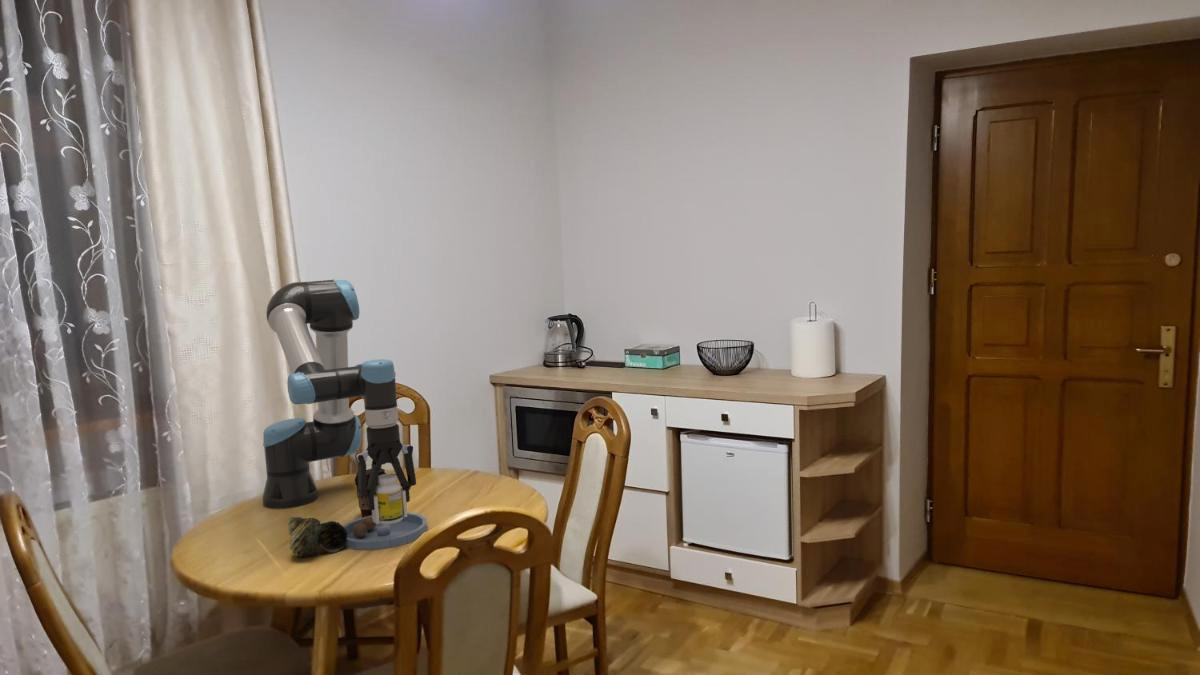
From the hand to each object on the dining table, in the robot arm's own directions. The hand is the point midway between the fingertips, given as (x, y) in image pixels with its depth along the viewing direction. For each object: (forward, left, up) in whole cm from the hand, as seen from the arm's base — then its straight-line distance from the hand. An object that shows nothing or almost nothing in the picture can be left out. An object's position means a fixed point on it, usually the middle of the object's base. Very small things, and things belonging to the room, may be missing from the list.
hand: (390, 518), depth 192 cm
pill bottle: (0, 0, -1) cm, 1 cm away
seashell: (-3, -17, -6) cm, 18 cm away
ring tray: (-6, 0, -6) cm, 8 cm away
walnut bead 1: (-7, -5, -5) cm, 11 cm away
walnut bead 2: (-11, -2, -5) cm, 12 cm away
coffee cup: (-22, +3, -6) cm, 23 cm away
